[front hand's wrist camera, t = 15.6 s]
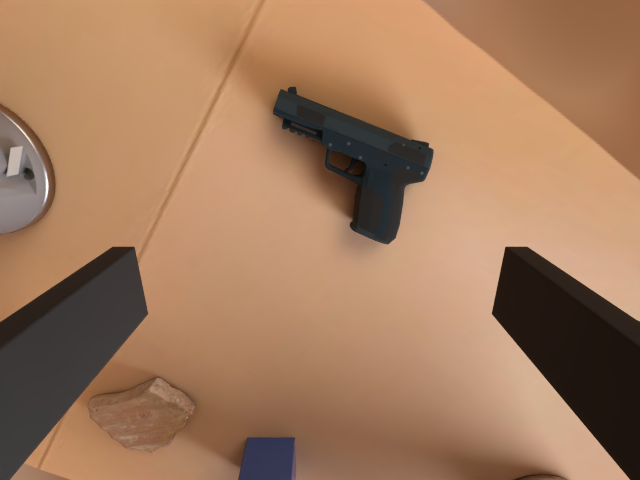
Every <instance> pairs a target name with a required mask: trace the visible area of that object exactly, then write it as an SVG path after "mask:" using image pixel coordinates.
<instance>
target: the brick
mask: <svg viewBox="0 0 640 480" xmlns="http://www.w3.org/2000/svg"><path fill="white" fill-rule="evenodd" d="M238 480H296V463H295V438H247V442H246V447H245V451H244V456H243V461H242V465H241V470H240V474H239V479H238Z"/></svg>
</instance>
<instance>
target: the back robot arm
mask: <svg viewBox="0 0 640 480" xmlns="http://www.w3.org/2000/svg"><path fill="white" fill-rule="evenodd" d="M518 480H565V479H563V478H560V477H556V476H551V475H535V476H529V477H525V478H521V479H518Z"/></svg>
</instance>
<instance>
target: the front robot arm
mask: <svg viewBox="0 0 640 480" xmlns="http://www.w3.org/2000/svg"><path fill="white" fill-rule="evenodd" d="M54 192H55V176H54V170H53V167H52V163H51V160H50V158H49V155H48V153H47V151H46V149H45V147H44V146H43V144H42V142H41V141H40V139H39V138H38V137H37V135H36V134H35V133H34V131H33V130H32V129H31V128H30V127H29V126H28V125H27V124H26V123H25V122H24V121H23V120H22V119H21V118H19V117H18V116H17V115H16V114H14V113H13V112H12V111H10V110H9V109H7V108H5V107H4V106H2V105H0V235H1V234H7V233H12V232H15V231H18V230H20V229H23V228H25V227H28V226H30V225H32V224H34V223H36V222H37V221H38V220H40V219H41V218H42V217H43V216H44V215H45V213H46V212H47V211H48V209H49V207H50V206H51V203H52V201H53V197H54ZM147 315H148V311H147V306H146V301H145V296H144V291H143V286H142V281H141V277H140V272H139V267H138V262H137V257H136V252H135V247H112V248H110V249H109V250H107V251H106V252H104V253H103V254H101V255H100V256H98V257H97V258H95V259H94V260H92V261H91V262H89V263H88V264H86V265H85V266H83V267H82V268H80V269H79V270H78V271H76V272H75V273H73V274H72V275H70V276H69V277H67V278H66V279H64V280H63V281H61V282H60V283H58V284H57V285H55V286H54V287H52V288H51V289H49V290H48V291H46V292H45V293H43V294H42V295H40V296H39V297H37V298H36V299H34V300H33V301H31V302H30V303H28V304H27V305H25V306H24V307H22V308H21V309H19V310H18V311H16V312H15V313H13V314H12V315H10V316H9V317H7V318H6V319H4V320H3V321H1V322H0V480H10V479H11V478H12V476H13V475H14V474H15V473H16V472H17V470H18V469H19V468H20V467H21V466H22V464H23V463H24V462H25V461H26V460H27V458H28V457H29V456H30V455H31V454H32V452H33V451H34V450H35V449H36V448H37V446H38V445H39V444H40V443H41V442H42V440H43V439H44V438H45V437H46V436H47V434H48V433H49V432H50V431H51V430H52V428H53V427H54V426H55V425H56V424H57V422H58V421H59V420H60V419H61V418H62V416H63V415H64V414H65V413H66V412H67V410H68V409H69V408H70V407H71V406H72V404H73V403H74V402H75V401H76V400H77V398H78V397H79V396H80V395H81V394H82V392H83V391H84V390H85V389H86V388H87V386H88V385H89V384H90V383H91V382H92V380H93V379H94V378H95V377H96V376H97V374H98V373H99V372H100V371H101V370H102V369H103V367H104V366H105V365H106V364H107V363H108V361H109V360H110V359H111V358H112V357H113V355H114V354H115V353H116V352H117V351H118V349H119V348H120V347H121V346H122V345H123V343H124V342H125V341H126V340H127V339H128V337H129V336H130V335H131V334H132V333H133V331H134V330H135V329H136V328H137V327H138V325H139V324H140V323H141V322H142V321H143V319H144V318H145V317H146V316H147ZM492 315H493V316H494V317H495V318H496V319H497V321H498V322H499V323H500V324H501V325H502V327H503V328H504V329H505V330H506V331H507V333H508V334H509V335H510V336H511V337H512V339H513V340H514V341H515V342H516V343H517V345H518V346H519V347H520V348H521V349H522V351H523V352H524V353H525V354H526V355H527V357H528V358H529V359H530V360H531V361H532V363H533V364H534V365H535V366H536V367H537V369H538V370H539V371H540V372H541V373H542V374H543V376H544V377H545V378H546V379H547V380H548V382H549V383H550V384H551V385H552V386H553V388H554V389H555V390H556V391H557V392H558V394H559V395H560V396H561V397H562V398H563V400H564V401H565V402H566V403H567V404H568V406H569V407H570V408H571V409H572V410H573V412H574V413H575V414H576V415H577V416H578V418H579V419H580V420H581V421H582V422H583V424H584V425H585V426H586V427H587V428H588V430H589V431H590V432H591V433H592V434H593V436H594V437H595V438H596V439H597V440H598V442H599V443H600V444H601V445H602V446H603V448H604V449H605V450H606V451H607V452H608V454H609V455H610V456H611V457H612V458H613V460H614V461H615V462H616V463H617V464H618V466H619V467H620V468H621V469H622V470H623V472H624V473H625V474H626V475H627V476H628V478H629V479H630V480H640V321H638V320H636V319H634V318H633V317H631V316H630V315H628V314H627V313H625V312H624V311H622V310H621V309H619V308H618V307H616V306H615V305H613V304H612V303H610V302H609V301H607V300H606V299H604V298H603V297H601V296H600V295H598V294H597V293H595V292H594V291H592V290H591V289H589V288H588V287H586V286H585V285H583V284H582V283H580V282H579V281H577V280H576V279H574V278H573V277H571V276H570V275H568V274H567V273H565V272H564V271H562V270H561V269H560V268H558V267H557V266H555V265H554V264H552V263H551V262H549V261H548V260H546V259H545V258H543V257H542V256H540V255H539V254H537V253H536V252H534V251H533V250H531V249H530V248H528V247H505V252H504V257H503V262H502V267H501V272H500V277H499V281H498V286H497V291H496V296H495V301H494V306H493V311H492Z"/></svg>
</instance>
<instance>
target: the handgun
mask: <svg viewBox="0 0 640 480" xmlns="http://www.w3.org/2000/svg"><path fill="white" fill-rule="evenodd" d="M273 114H275V115H277V116H280V117H282V118H284V119H283V125H282V128H283V129H287V128H290V132H295V130H296V131H298V133H297V134H298V135H302V133H303V134H306V135H305V137H306V138H309V136H311V137H313V139H312V140H314V141H316V140H317V139H319V140H321V142H320V143H321V144H322V145H324V146H325V147H326V148H327V154H326V160H325V165H326V168H327V169H329V170H331V171H333V172H335V173H337V174H339V175H341V176H344V177H346V178H348V179H350V180H352V181H353V182H355V183H357V184H358V187H357V190H356V195H355V204H354V213H353V221H352V222H351V223H350V227H351V229H352V230H353V231H355V232H357V233H359V234H362V235H364V236H366V237H368V238H371V239H373V240H375V241H378V242H381V243H384V244H389V243H390V242H391V241H393V240H394V239H395V238H396V235H397V232H398V228H399V225H400V219H401V212H402V206H403V197H404V189H405V186H406V185H408V184H412V183H417V182H422V181H424V180H425V178H426V176H427V174H428V172H429V169H430V166H431V163H432V159H433V149H431V148H429V147H428V146H429V143H426V142H422V141H417V140H409V139H406V138H404V137H401V136H399V135H396V134H394V133H391V132H389V131H386V130H384V129H381V128H379V127H376V126H374V125H371V124H369V123H366V122H364V121H361V120H359V119H356V118H354V117H351V116H349V115H346V114H344V113H341V112H339V111H336V110H333V109H331V108H328V107H326V106H323V105H321V104H318V103H316V102H313V101H311V100H308V99H306V98H303V97H301V96H298V95H297V92H296V87H290V88H288V92H287V91H284V90H282V89H281V90H280V92H279V95H278V98H277V101H276V104H275V108H274V111H273ZM332 151H338V152H341V153H343V154H346V155H348V156H351V157H353V159H352V161H351V164H350V166H349V167H348V168H347V169H345V171H346V172H345V171H343V170H341V169H339V168H337V167H335V166H332V165H330V164H329V156H330V153H331V152H332ZM356 161H361V162H364V163H363V170H362V173H361V174H360V175H352V174H350V173H347V172H349V171H350V170H351V169H352V168H353V167H354V165H355V163H356Z"/></svg>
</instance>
